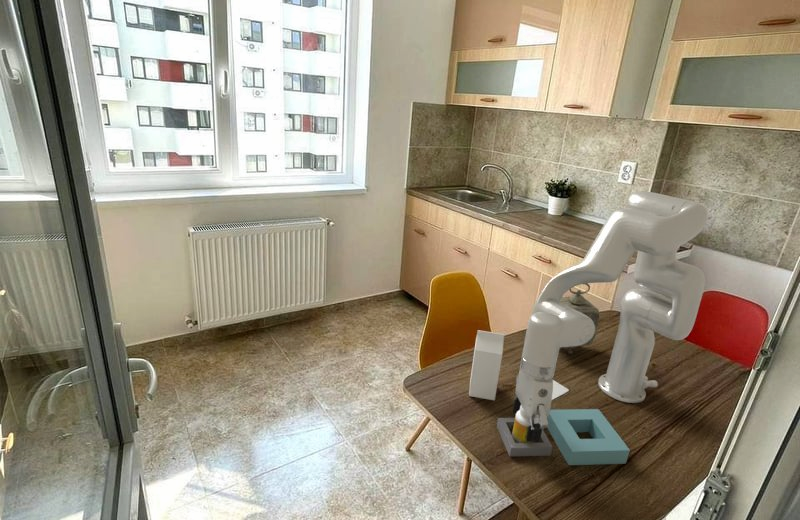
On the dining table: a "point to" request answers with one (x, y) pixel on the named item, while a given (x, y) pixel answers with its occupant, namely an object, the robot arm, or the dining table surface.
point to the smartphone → (558, 390)
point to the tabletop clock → (582, 310)
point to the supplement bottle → (522, 426)
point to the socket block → (586, 451)
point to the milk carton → (486, 365)
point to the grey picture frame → (522, 448)
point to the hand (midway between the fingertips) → (525, 426)
